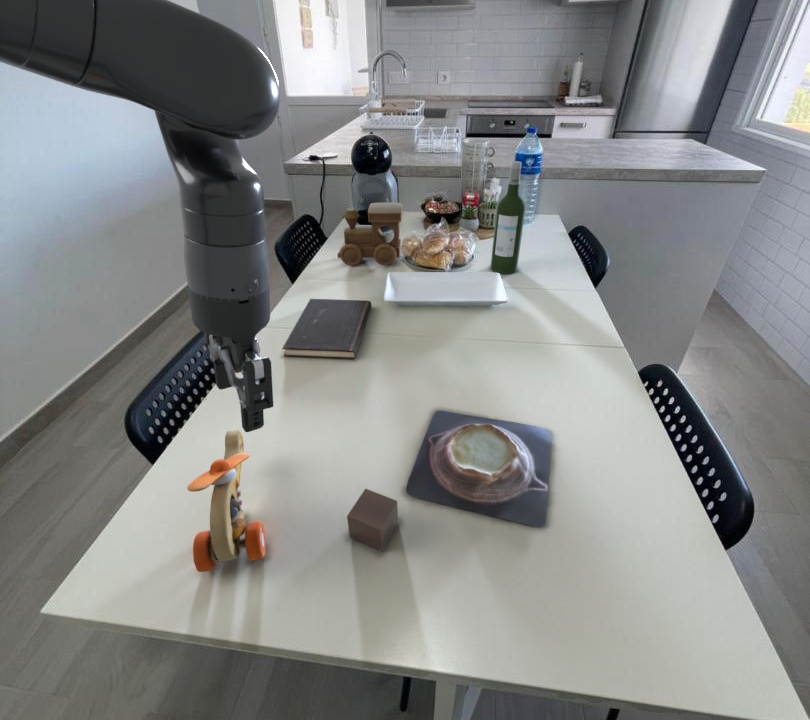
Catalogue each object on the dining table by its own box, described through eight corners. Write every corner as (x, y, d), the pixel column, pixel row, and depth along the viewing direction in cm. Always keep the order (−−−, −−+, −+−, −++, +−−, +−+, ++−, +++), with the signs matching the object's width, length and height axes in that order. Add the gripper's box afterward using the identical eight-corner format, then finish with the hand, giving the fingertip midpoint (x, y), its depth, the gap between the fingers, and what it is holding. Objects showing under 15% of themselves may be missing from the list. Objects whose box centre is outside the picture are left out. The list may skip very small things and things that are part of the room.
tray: (507, 312, 113) (508, 300, 111) (383, 311, 114) (382, 299, 112) (498, 283, 126) (499, 271, 124) (387, 282, 128) (387, 271, 126)
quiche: (551, 431, 78) (555, 414, 76) (545, 530, 62) (550, 512, 60) (435, 409, 83) (436, 392, 81) (403, 495, 68) (402, 477, 65)
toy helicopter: (199, 588, 56) (163, 522, 49) (216, 465, 73) (192, 401, 65) (265, 573, 58) (242, 507, 50) (268, 456, 74) (250, 392, 67)
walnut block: (381, 552, 60) (380, 530, 57) (350, 538, 62) (346, 516, 59) (398, 522, 64) (397, 500, 61) (367, 510, 66) (365, 488, 63)
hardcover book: (284, 356, 98) (282, 347, 97) (311, 306, 117) (310, 298, 116) (355, 359, 97) (354, 350, 96) (371, 308, 116) (371, 300, 114)
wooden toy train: (404, 253, 146) (403, 201, 136) (402, 267, 136) (401, 212, 127) (343, 253, 146) (337, 201, 137) (337, 267, 137) (331, 212, 127)
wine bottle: (515, 263, 137) (529, 158, 120) (518, 274, 131) (534, 165, 113) (489, 263, 138) (500, 158, 120) (491, 274, 131) (502, 165, 114)
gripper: (167, 256, 46) (187, 382, 55) (213, 318, 37) (228, 456, 46) (240, 249, 50) (247, 367, 59) (297, 303, 41) (295, 432, 50)
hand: (239, 406), depth 52 cm, fingers open, 8 cm apart
